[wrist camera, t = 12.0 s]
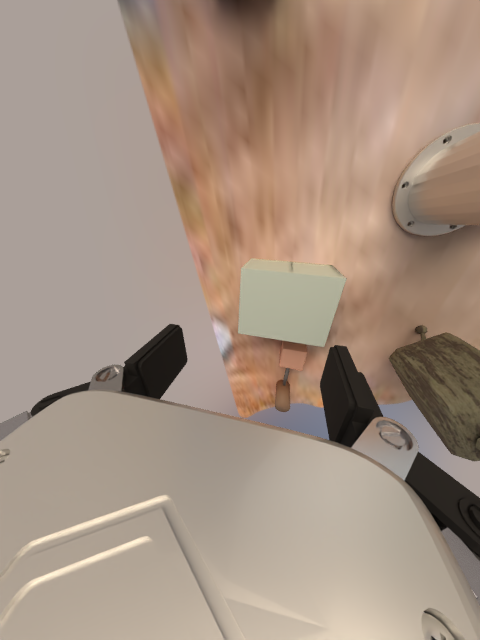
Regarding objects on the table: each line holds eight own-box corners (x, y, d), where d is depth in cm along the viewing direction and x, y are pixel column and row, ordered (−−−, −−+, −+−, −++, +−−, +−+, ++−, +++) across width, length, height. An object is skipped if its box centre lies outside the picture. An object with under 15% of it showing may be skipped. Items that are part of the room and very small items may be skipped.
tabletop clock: (450, 369, 38) (667, 562, 16) (399, 382, 42) (520, 552, 20) (426, 315, 34) (663, 471, 13) (373, 335, 38) (485, 480, 17)
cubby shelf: (332, 265, 34) (346, 278, 26) (316, 321, 40) (324, 347, 31) (251, 258, 37) (241, 268, 28) (247, 312, 42) (238, 333, 34)
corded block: (305, 339, 42) (308, 359, 36) (291, 391, 50) (291, 414, 44) (283, 336, 43) (282, 354, 37) (272, 387, 51) (271, 409, 45)
